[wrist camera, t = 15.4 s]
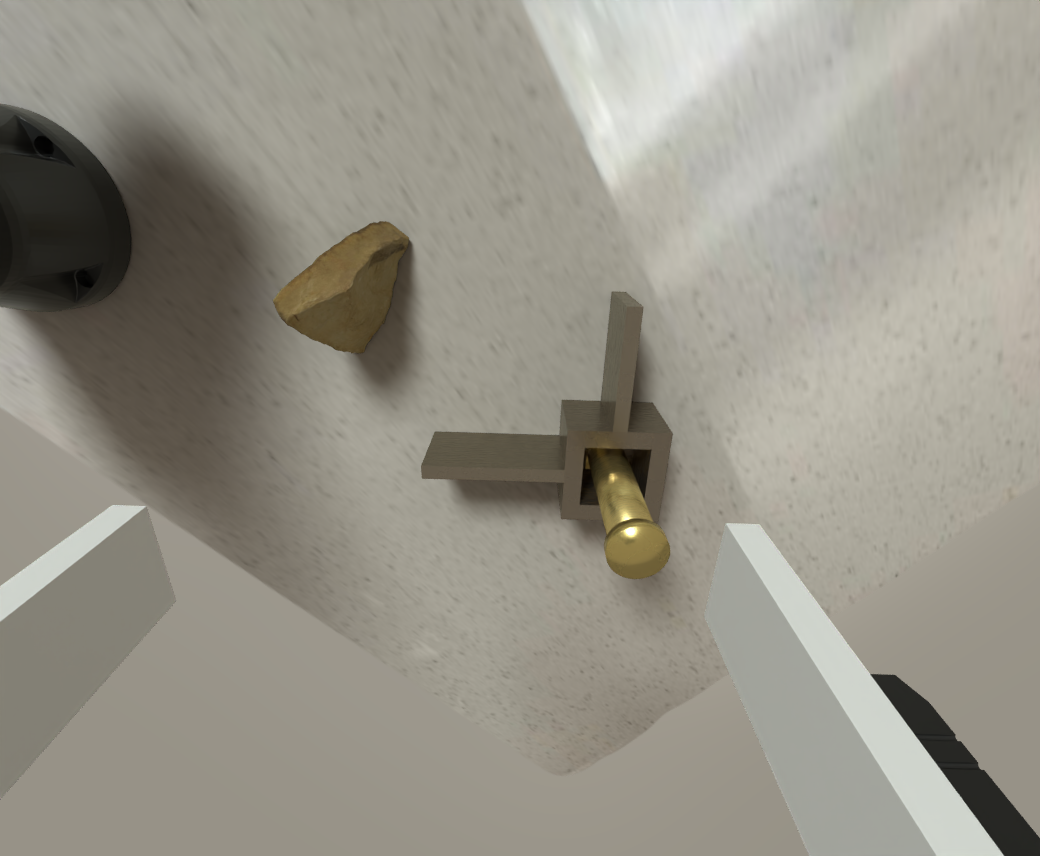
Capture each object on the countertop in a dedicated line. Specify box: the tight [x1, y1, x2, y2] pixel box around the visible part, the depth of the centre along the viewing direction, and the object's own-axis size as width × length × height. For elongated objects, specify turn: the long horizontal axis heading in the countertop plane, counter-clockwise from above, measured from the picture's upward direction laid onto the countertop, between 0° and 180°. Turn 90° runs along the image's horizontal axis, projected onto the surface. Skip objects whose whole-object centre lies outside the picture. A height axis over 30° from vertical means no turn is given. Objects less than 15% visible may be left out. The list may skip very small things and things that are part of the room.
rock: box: [273, 221, 409, 353], centre depth 40 cm, size 11×9×10 cm
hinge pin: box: [584, 448, 670, 579], centre depth 41 cm, size 4×4×16 cm
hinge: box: [421, 292, 673, 522], centre depth 44 cm, size 20×18×7 cm
